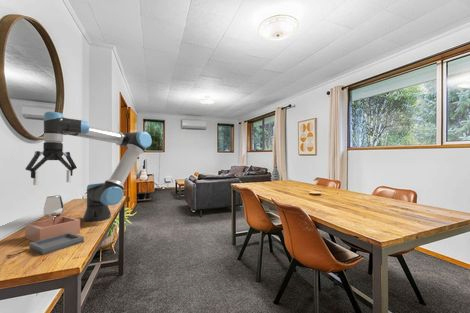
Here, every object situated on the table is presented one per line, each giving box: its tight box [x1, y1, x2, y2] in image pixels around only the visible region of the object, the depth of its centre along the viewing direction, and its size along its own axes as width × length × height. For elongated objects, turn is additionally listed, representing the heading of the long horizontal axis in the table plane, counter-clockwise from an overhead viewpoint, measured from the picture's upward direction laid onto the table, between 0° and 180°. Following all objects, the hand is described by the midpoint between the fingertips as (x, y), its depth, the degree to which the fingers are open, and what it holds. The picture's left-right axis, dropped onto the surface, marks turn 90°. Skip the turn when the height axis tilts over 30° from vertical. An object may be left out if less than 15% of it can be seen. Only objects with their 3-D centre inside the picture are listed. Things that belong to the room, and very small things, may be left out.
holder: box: [24, 215, 81, 242], centre depth 106 cm, size 16×16×7 cm
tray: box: [29, 232, 85, 256], centre depth 94 cm, size 15×13×2 cm
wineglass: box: [43, 195, 65, 225], centre depth 106 cm, size 8×8×20 cm
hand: (52, 183), depth 107 cm, fingers open, 13 cm apart
